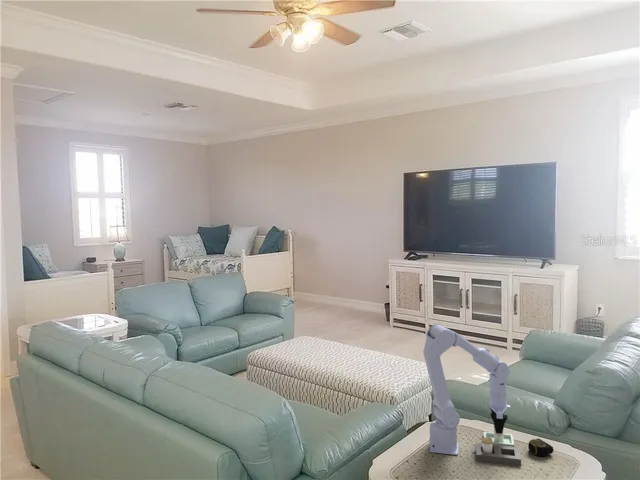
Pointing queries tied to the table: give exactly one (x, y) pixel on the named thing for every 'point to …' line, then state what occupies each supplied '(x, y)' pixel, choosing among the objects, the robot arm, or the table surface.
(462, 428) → the table surface
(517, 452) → the socket block
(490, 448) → the cylinder
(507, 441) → the parts tray
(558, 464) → the table surface
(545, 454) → the tape measure
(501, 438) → the cylinder
